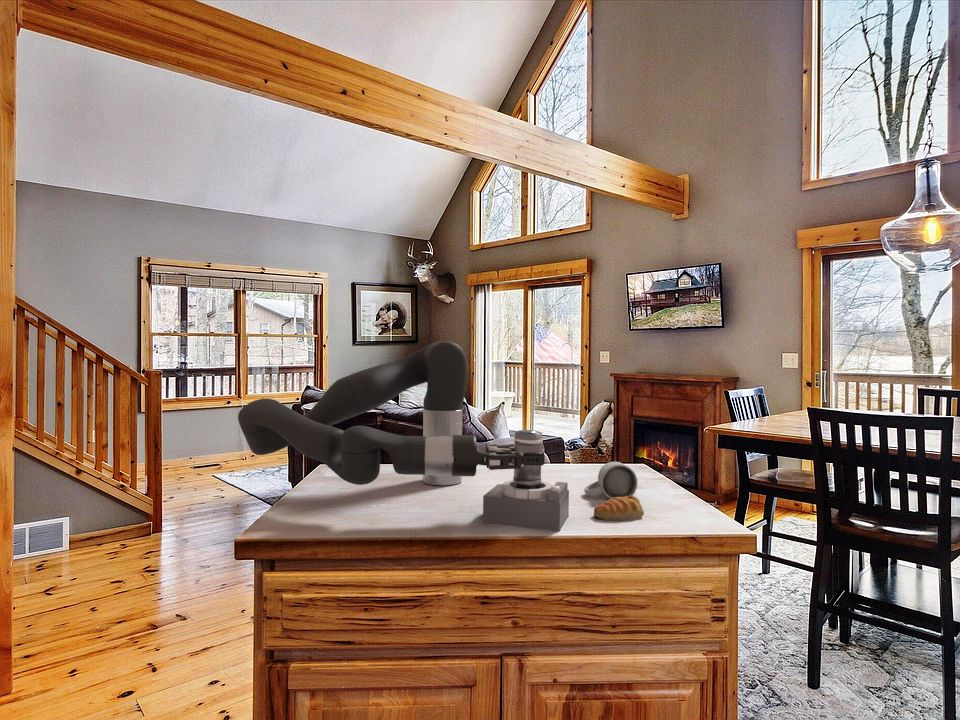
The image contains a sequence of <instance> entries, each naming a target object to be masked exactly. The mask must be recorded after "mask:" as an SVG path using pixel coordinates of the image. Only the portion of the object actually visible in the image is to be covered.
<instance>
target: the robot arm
mask: <svg viewBox="0 0 960 720" xmlns="http://www.w3.org/2000/svg"><path fill="white" fill-rule="evenodd" d="M466 380H467V358H466V353H465V351H464V349H463V348H462V347H461V346H460V344H457V343H456V342H453V341H449V340H447V341H445V340H442V341H434V342H431V343H430V344H428V345H426V346H424V347H422V348H420V349H419V350H416V351H415V352H412V353H410V354H408V355H407V356H404V357H402V358H400V359H397V360H394V361H391V362H386V363H381V364H379V365H375V366H371V367H369V368H366V369H363V370H359V371H357V372H354V373H351V374H348V375H346V376H343V377H341V378H339V379H337V380H336V381H334V382H333V383H332V384H331V385H330V386H329V388H328V389H326V391H325V392H324V394H322V396H321V397H320V398H319V400H318V401H317V403H316V404H315V405H314V406H313V407H312V408H311V409H310V410H309V411H307V413H304V414H301V413H298V412H297V411H295V410H293V409H291V408H290V407H288V406H286V405H285V404H283V403H281V402H280V401H278V400H276V399H273V398H259V399H256V400H253V401H251V402H249V403H247V404H245V405H244V406H242V408H241V409H240V410H239V412H238V415H237V420H238V424H239V427H240V429H241V432H242V434H243V436H244V438H245V441H246V443H247V445H248V447H249V450H250V451H251V453H253V454H254V455H256V456H264V455H270V454H273V453H275V452H279V451H281V450H283V449H286V448H287V447H290V446H292V447H293V448H294V449H295V450H296V451H297V452H299V453H300V454H302V455H303V456H305V457H307V458H309V459H311V460H314V461H318V462H321V463H323V464H325V466H327V467H328V468H329V469H330V470H331V471H332V472H333V473H334V474H336V476H338V477H339V478H341V480H343V481H345V482H347V483H349V484H353V485H357V486H363V485H368V484H370V483H372V482H374V481H375V480H377V478H378V476H379V474H380V470H381V450H384V451H385V452H387V453H388V454H389V455H390V459H391V464H392V466H393V470H394V472H395V473H397V474H398V475H404V476H405V475H414V476H415V475H420V476H422V483H423V484H427V485H430V486H431V485H432V486H451V485H457V484H460V483H462V477H474V476H476V475H477V467H478V465H479V466H486V469H488V470H490V471H494V470H514V469H521V467H523V466H524V465H541V467H542V466H544V465H545V463H546V461H545V460H546V457H545V456H546V455H545V454H544V452H542V453H523V452H515V443H511V444H507V443H505V444H503V443H502V444H501V443H489V442H487V443H485V444H484V446H478V444H477V443H478V442H477V436H476V435H472V434H469V435H468V434H467V435H466V434H463V403H464V401H465V396H466V385H467V384H466V383H467V381H466ZM426 383H427V386H426V393H425V394H424V395H425V396H424V398H423V409H422V410H423V411H422V412H423V413H422V415H423V417H422V418H423V419H422V420H423V422H422V423H423V425H422V426H423V427H422V428H423V430H422V435H402V434H397V433H392V432H387V431H384V430H380V429H377V428H373V427H371V426H367V425H353V426H350V427H349V428H346V429H345V430H343V429H340V428H337V427H334V426H333V425H336V424H338V423H341V422H343V421H346V420H349V419H351V418H354V417H356V416H359V415H360V416H361V415H363V414H364V413H368V412H371V411H372V410H374V409H377V408H379V407H381V406H383V405H384V404H386V403H388V402H389V401H391V400H393V399H394V398H396V397H398V395H400V394H401V393H403V392H405V391H406V390H409V389H410V388H413V387H416V386H419V385H422V384H426ZM477 446H478V447H477ZM514 458H515V462H514Z"/></svg>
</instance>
